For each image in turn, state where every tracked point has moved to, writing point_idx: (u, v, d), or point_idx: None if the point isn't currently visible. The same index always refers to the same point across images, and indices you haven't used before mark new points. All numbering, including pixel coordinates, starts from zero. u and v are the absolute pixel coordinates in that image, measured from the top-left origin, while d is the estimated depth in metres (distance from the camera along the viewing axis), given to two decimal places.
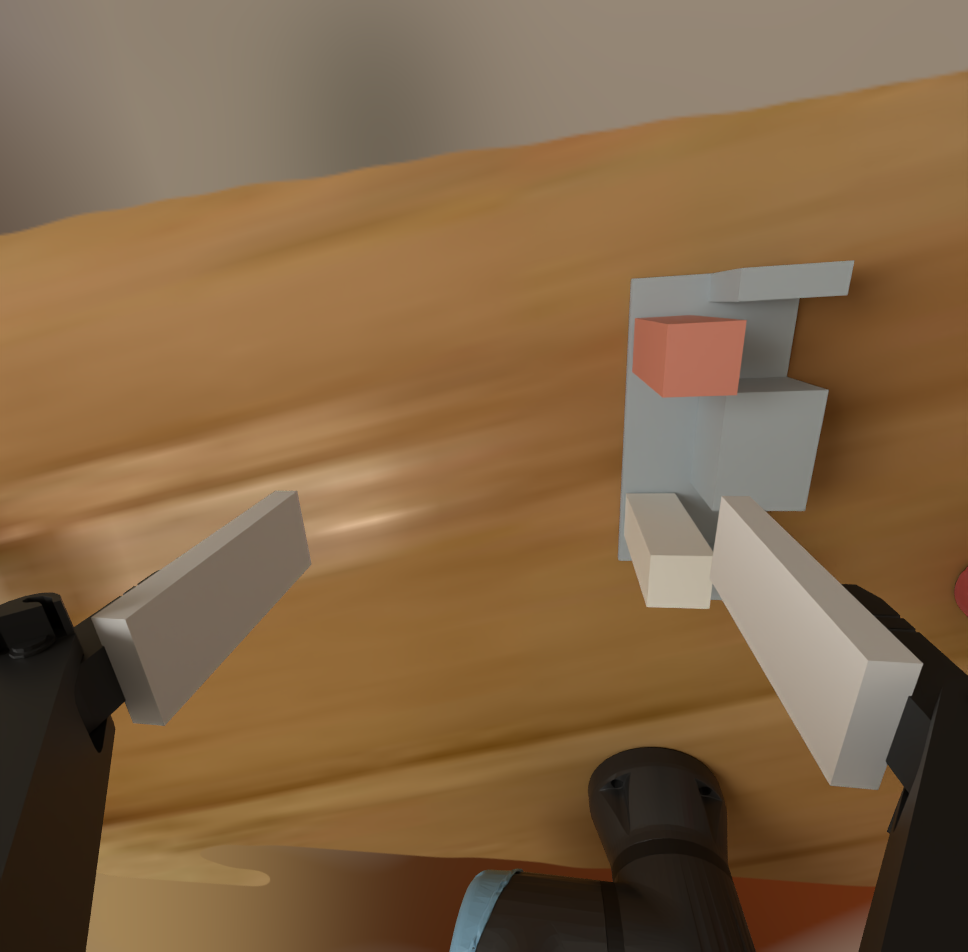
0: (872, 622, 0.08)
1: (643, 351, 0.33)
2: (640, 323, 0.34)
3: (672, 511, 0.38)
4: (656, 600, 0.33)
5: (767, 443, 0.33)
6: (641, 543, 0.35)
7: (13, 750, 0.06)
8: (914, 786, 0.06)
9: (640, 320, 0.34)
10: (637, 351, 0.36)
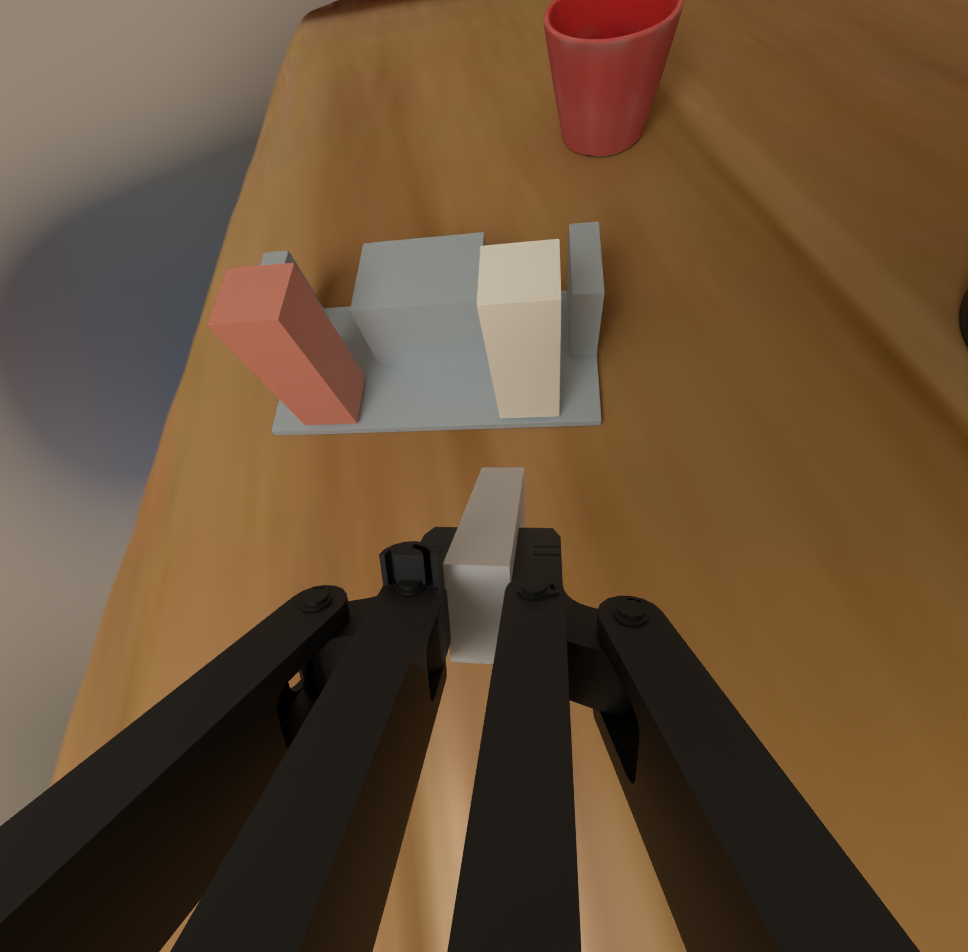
0: (507, 545, 0.11)
1: (303, 392, 0.31)
2: (291, 407, 0.33)
3: None
4: (548, 291, 0.23)
5: (406, 272, 0.32)
6: (499, 345, 0.26)
7: (379, 688, 0.07)
8: None
9: (289, 408, 0.33)
10: (322, 410, 0.33)
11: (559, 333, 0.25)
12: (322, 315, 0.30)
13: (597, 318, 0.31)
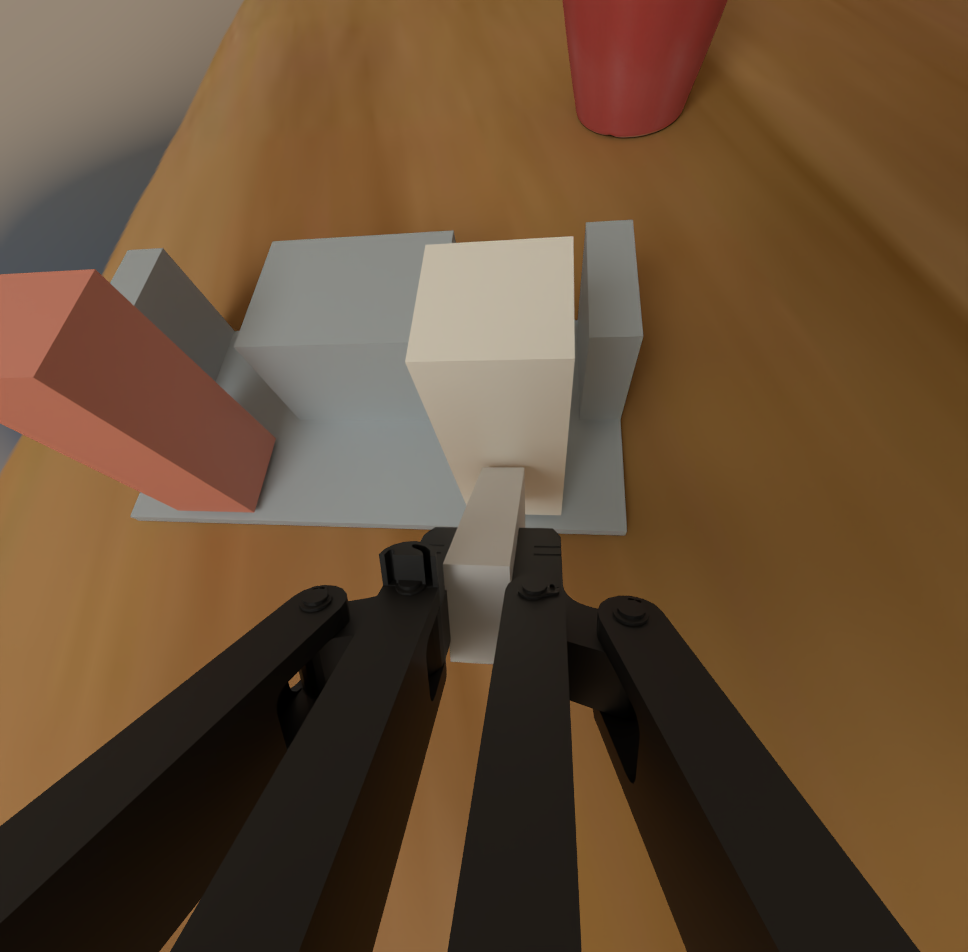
0: (507, 544, 0.11)
1: (150, 475, 0.19)
2: (144, 491, 0.21)
3: None
4: (549, 339, 0.11)
5: (329, 288, 0.21)
6: (458, 426, 0.14)
7: (379, 688, 0.07)
8: None
9: (141, 491, 0.21)
10: (194, 497, 0.21)
11: (567, 413, 0.13)
12: (176, 356, 0.18)
13: (627, 372, 0.20)
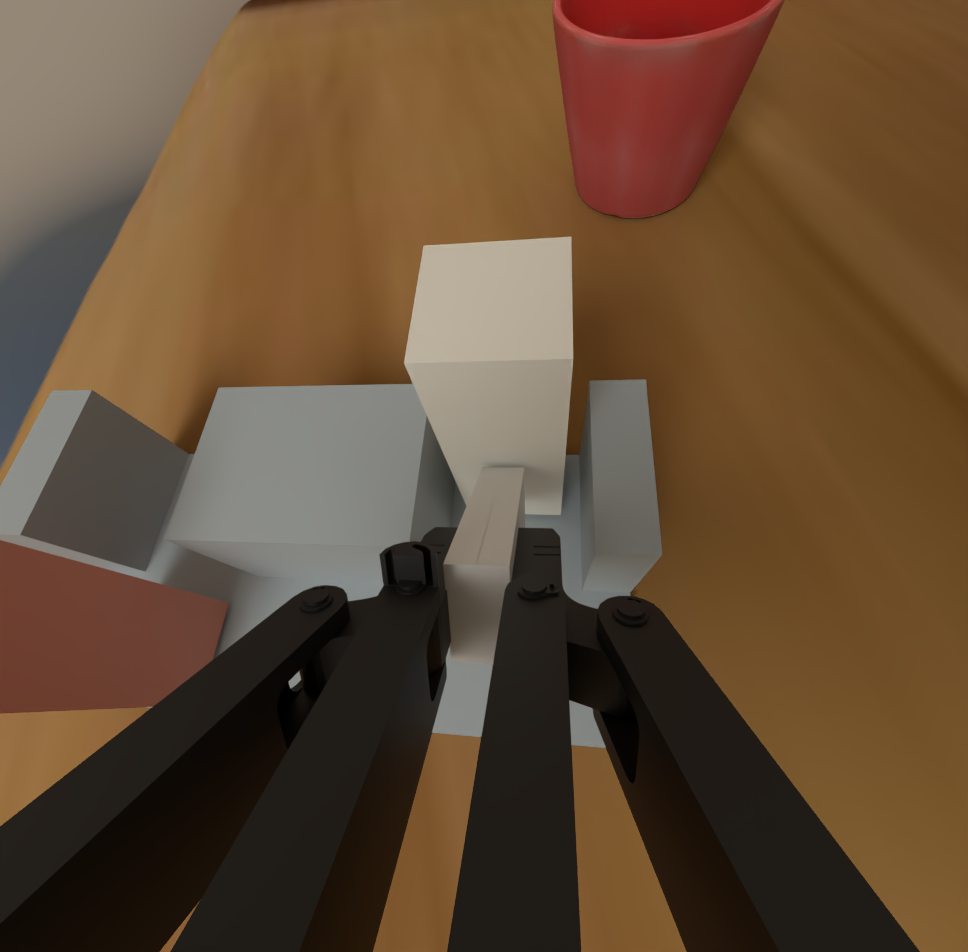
0: (507, 544, 0.11)
1: None
2: None
3: None
4: (548, 340, 0.11)
5: (281, 459, 0.17)
6: (457, 426, 0.14)
7: (379, 688, 0.07)
8: None
9: None
10: None
11: (566, 413, 0.13)
12: (83, 576, 0.15)
13: (641, 571, 0.16)
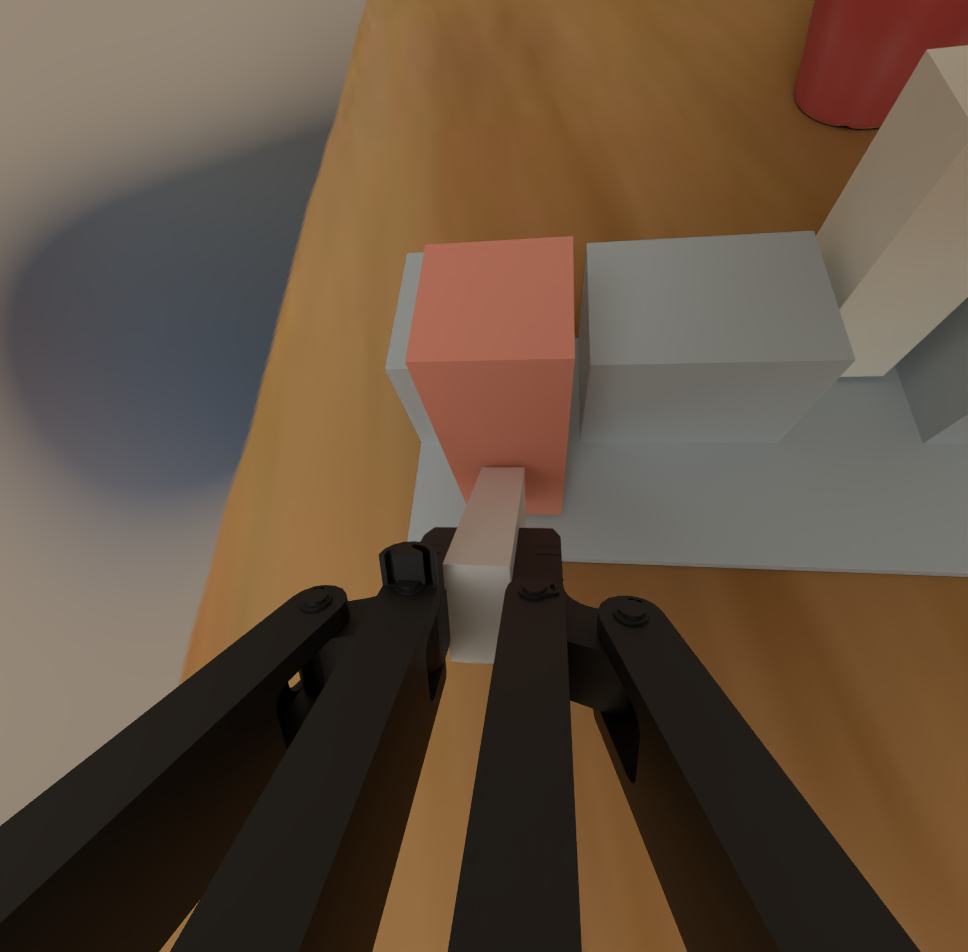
0: (507, 544, 0.11)
1: None
2: (467, 492, 0.19)
3: None
4: None
5: (684, 297, 0.18)
6: (925, 232, 0.15)
7: (379, 688, 0.07)
8: None
9: (463, 492, 0.19)
10: None
11: None
12: None
13: None
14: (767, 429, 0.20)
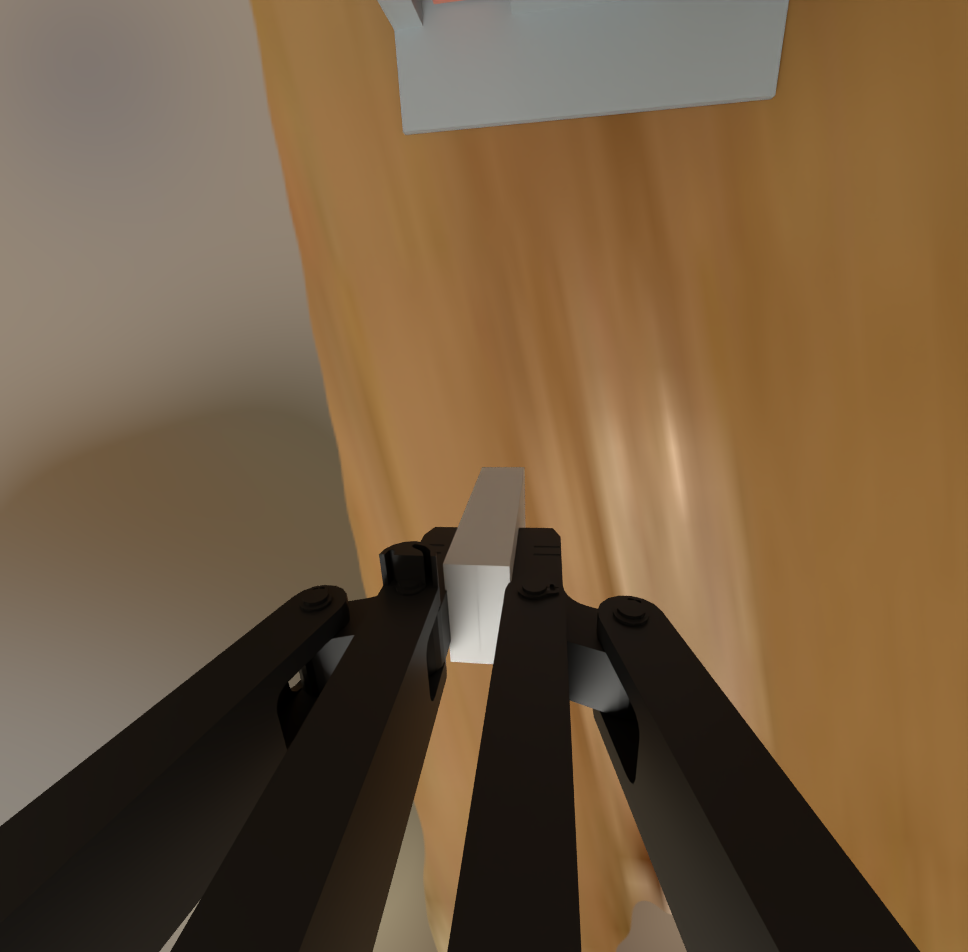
0: (507, 544, 0.11)
1: None
2: None
3: None
4: None
5: None
6: None
7: (379, 689, 0.07)
8: None
9: None
10: None
11: None
12: None
13: None
14: None
